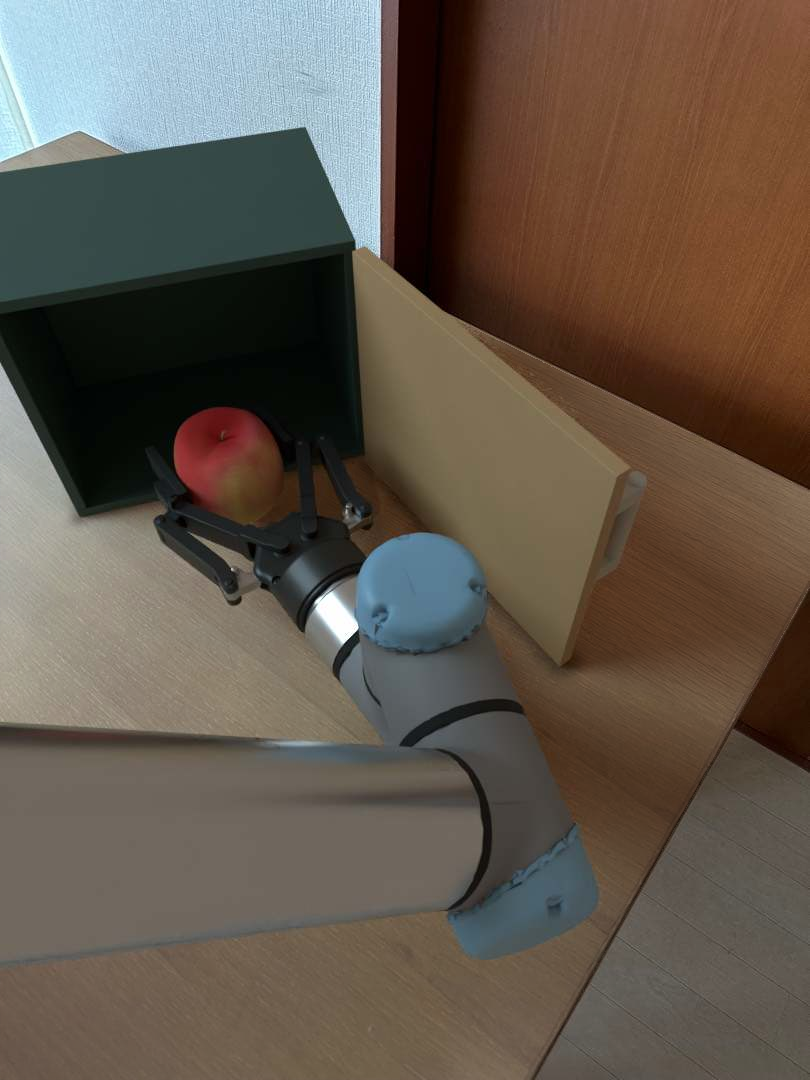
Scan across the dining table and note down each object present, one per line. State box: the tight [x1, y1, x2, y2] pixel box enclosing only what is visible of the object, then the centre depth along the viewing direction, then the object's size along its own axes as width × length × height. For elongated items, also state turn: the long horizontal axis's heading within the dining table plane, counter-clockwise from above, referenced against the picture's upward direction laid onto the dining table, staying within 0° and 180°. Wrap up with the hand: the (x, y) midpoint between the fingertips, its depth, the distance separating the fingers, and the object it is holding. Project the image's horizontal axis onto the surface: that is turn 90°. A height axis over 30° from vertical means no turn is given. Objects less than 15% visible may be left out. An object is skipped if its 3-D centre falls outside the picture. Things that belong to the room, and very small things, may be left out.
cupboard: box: [0, 126, 365, 518], centre depth 76 cm, size 18×28×24 cm, turn 106°
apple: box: [174, 407, 285, 525], centre depth 73 cm, size 10×10×10 cm
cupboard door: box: [352, 245, 648, 667], centre depth 67 cm, size 7×28×24 cm, turn 36°
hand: (204, 432), depth 74 cm, fingers closed on apple, 9 cm apart
